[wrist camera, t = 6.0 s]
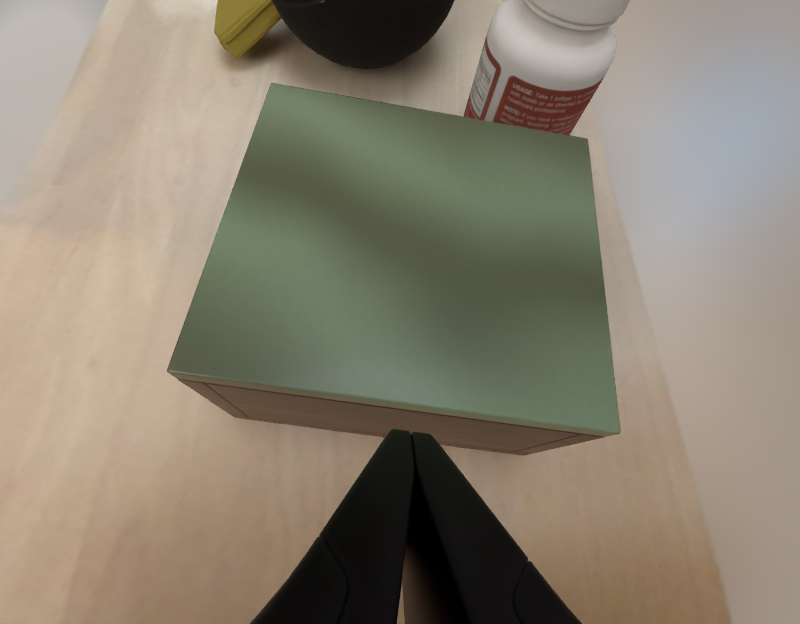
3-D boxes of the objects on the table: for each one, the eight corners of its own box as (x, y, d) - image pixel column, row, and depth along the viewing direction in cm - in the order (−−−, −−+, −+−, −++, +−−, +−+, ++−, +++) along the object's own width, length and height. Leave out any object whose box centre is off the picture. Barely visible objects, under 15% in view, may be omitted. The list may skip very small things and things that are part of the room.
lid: (273, 98, 18) (270, 81, 17) (579, 152, 18) (588, 137, 18) (175, 379, 12) (164, 371, 12) (607, 437, 13) (622, 434, 12)
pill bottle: (563, 167, 27) (688, -24, 17) (502, 214, 25) (604, 26, 15) (495, 112, 29) (574, -94, 19) (433, 151, 27) (483, -58, 16)
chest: (290, 212, 23) (269, 111, 17) (521, 249, 24) (580, 165, 18) (233, 417, 19) (176, 379, 12) (524, 455, 19) (606, 437, 13)
